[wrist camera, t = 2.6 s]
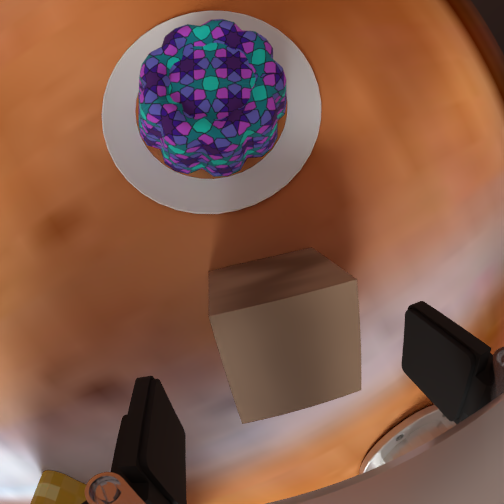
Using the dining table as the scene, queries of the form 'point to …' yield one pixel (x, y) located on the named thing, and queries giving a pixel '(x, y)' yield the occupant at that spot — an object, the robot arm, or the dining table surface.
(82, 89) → the dining table surface
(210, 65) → the pudding
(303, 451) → the dining table surface
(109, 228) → the dining table surface
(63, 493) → the book
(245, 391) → the walnut cube
